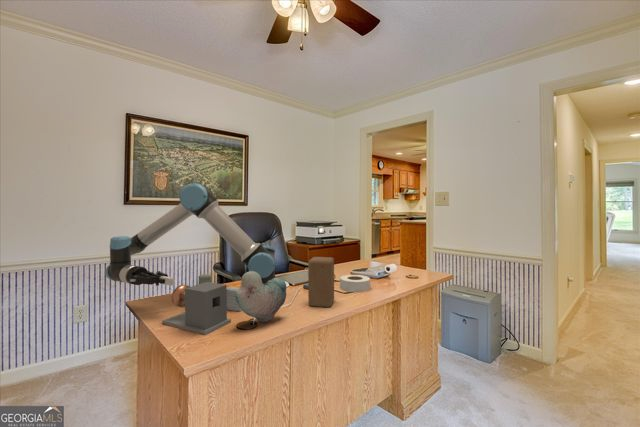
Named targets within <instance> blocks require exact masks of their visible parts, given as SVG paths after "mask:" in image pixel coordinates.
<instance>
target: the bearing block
mask: <svg viewBox="0 0 640 427" xmlns="http://www.w3.org/2000/svg"><path fill="white" fill-rule="evenodd" d="M227 288H228V287H227V284H223V283H215V282H212V283H210V282H205V283H202V284H199V283H198V284H195V285H192V286H190V287H188V288H185V307H184V312H181V313H179V314H175V315H173V316H170V317H168V318H165V319H163V320H162V321H161V323H162V325H166V326H169V327H173V328H177V329H181V330H185V331H189V332H193V333H197V334H200V335H204V336H206V335H208V334H210V333H212V332H215V331H217V330H219V329H221V328H222V327H224V326H226V325H228V324H230V323H232V318H228V312H227V311H228V310H227Z"/></svg>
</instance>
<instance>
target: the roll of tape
mask: <svg viewBox="0 0 640 427" xmlns="http://www.w3.org/2000/svg"><path fill="white" fill-rule="evenodd" d="M339 288H340V290H342V291H343V292H349V293H363V292H368V291H369V290H370V289H371V278H370V277H369V276H366V275H362V274H345V275H342V276H340V277H339Z"/></svg>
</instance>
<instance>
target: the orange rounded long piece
mask: <svg viewBox="0 0 640 427" xmlns="http://www.w3.org/2000/svg"><path fill="white" fill-rule="evenodd" d="M188 287H191V286H190V285H186V284H180V285H178V286H177V287H175V289H174V290H173V292H172V294H171V303H172V304H173V305H174V306H175V307H178V308H185V288H188Z"/></svg>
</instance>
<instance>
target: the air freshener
mask: <svg viewBox="0 0 640 427" xmlns="http://www.w3.org/2000/svg"><path fill="white" fill-rule="evenodd" d="M212 279H213V278H212V274H210V273H206V274H205V273H204V274H200V275H198V284H202V283H205V282H210V283H213V280H212Z"/></svg>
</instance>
